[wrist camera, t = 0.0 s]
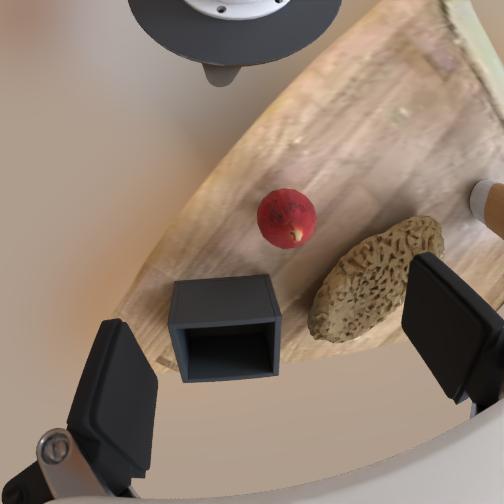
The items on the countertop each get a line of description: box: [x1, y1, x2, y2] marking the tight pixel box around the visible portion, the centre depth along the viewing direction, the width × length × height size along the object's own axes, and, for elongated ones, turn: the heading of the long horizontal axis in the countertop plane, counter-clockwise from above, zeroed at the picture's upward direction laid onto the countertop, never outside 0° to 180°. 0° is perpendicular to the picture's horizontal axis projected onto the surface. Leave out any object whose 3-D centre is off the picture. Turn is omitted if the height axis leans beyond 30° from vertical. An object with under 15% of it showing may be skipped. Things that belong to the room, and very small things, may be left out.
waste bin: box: [167, 274, 282, 383], centre depth 35 cm, size 11×9×8 cm
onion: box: [257, 188, 317, 249], centre depth 30 cm, size 6×6×8 cm
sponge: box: [308, 216, 445, 343], centre depth 36 cm, size 13×8×20 cm
